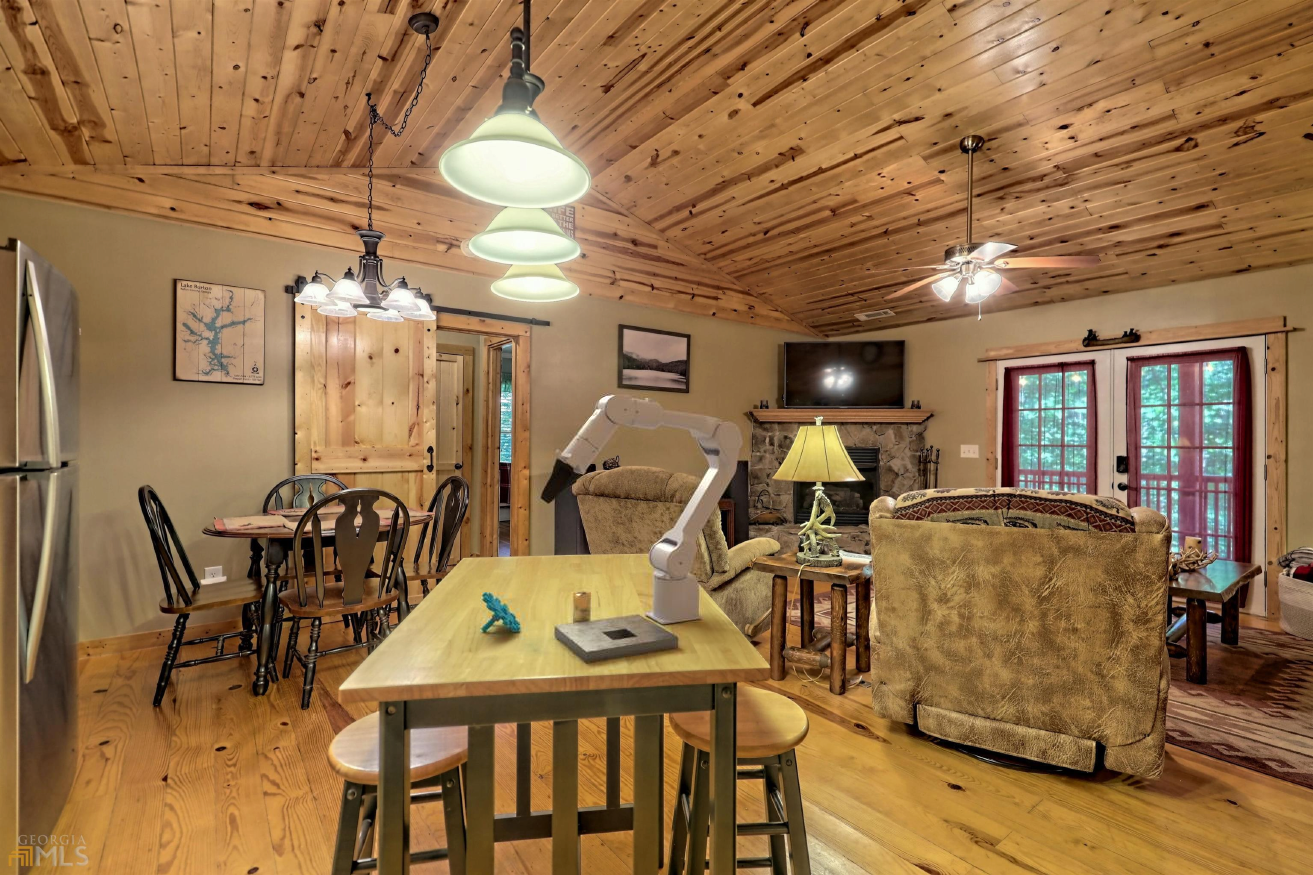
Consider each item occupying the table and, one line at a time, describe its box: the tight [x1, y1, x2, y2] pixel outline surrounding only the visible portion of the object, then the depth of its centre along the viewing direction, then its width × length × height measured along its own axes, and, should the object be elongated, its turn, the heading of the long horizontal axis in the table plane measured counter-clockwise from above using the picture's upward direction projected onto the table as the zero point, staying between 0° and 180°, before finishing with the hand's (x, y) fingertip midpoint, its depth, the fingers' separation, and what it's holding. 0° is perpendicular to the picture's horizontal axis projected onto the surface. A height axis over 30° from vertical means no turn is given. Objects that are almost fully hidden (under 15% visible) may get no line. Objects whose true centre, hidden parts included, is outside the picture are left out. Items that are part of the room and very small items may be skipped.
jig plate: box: [553, 614, 679, 664], centre depth 118 cm, size 18×16×2 cm
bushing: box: [572, 590, 592, 623], centre depth 130 cm, size 4×4×6 cm
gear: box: [480, 591, 522, 633], centre depth 124 cm, size 11×6×10 cm
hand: (544, 499), depth 122 cm, fingers open, 7 cm apart
